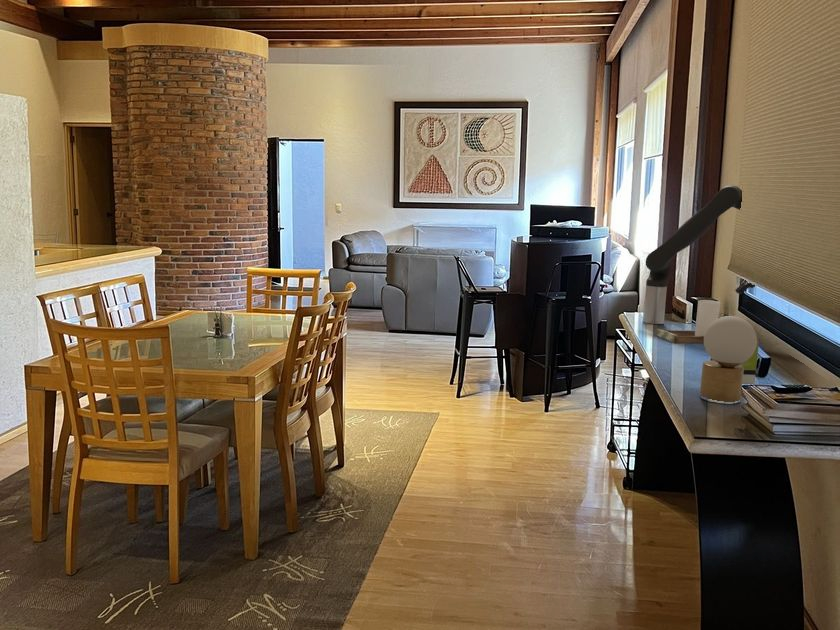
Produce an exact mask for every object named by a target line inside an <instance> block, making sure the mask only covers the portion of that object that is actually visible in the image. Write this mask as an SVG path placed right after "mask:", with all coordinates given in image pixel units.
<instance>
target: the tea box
mask: <svg viewBox="0 0 840 630" xmlns="http://www.w3.org/2000/svg"><path fill="white" fill-rule="evenodd" d="M759 343H760V342H759V340H757V346H756V349H755V352H754V353H753V355H752V356H751V357H750V358H749V359H748V360H747V361H745V362H743V363H742V364H740V365H742V366H744V373H743V382H742V384H754V385H755V382H756V374H757V373H756V372H757V361H758V355H759V354H758V353H759ZM709 357H710V356H709ZM711 360H713V359H712V358H711V357H710V358H709V361H711Z"/></svg>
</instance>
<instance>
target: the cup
mask: <svg viewBox="0 0 840 630" xmlns="http://www.w3.org/2000/svg"><path fill="white" fill-rule="evenodd" d="M719 310H720V301H716V300H712V299H699V300H698V301H697V310H696V311H697V312H696V319H695V320H696V321H695V329H694V330H695V336H704V335H705V332H706V330H707V328H708V326H709V325H710V324H711V323H712V322H713V321H715V320H716V319H718V318H719Z"/></svg>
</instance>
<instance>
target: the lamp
mask: <svg viewBox="0 0 840 630" xmlns="http://www.w3.org/2000/svg"><path fill="white" fill-rule="evenodd" d="M757 341H758V337H757V333H756V330H755V329H754V327H753V325H751V324H750V323H749V322H748V320H745V319H744V318H742V317H739V316H735V315H725V316H721V317H718V319H716V320H715V321H713V322H712V323H711V324H710V325H709V326H708V328H707V330H706V332H705V335H704V343H703V345H704V349H705V351H706V353H707V355H708V356H709V357H711V358H712V359H713V360H711V361H710V360H704V361H702V367H701V368H702V369H701V377H700V387H699V396H700V395H701V396H703V397H706V398H708V399H712V400H717V401H724V402H735V401H739V400H740V399H741V398H742V391H741V390H740V389H741V387H742V388H743V386H742V382H743V373H744V366H742V365H740V364H742V363H743V362H745V361H747V360H748V359H749V358H750V357H751V356H752V355H753V353H754V352H755V349H756V346H757ZM741 400H742V399H741Z"/></svg>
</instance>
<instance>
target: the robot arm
mask: <svg viewBox="0 0 840 630" xmlns="http://www.w3.org/2000/svg"><path fill="white" fill-rule="evenodd" d="M742 191H743V190H742V189H741V188H740V187H738V186H736V185H725V186H724V187H722V188H721V189H720V190H719V191H718V192H717V193H716V194H715V195H714V196H713V198H712V199H711V200H710V201H709V202H707V204H706V205H705V206H704V207H702V208H701V209H699V211H697V212H696V213H694V215H692V216H690V218H688V219H687V220H686V221H685V222H684V223H683V224H682V225H681V226H679V227H678V228H677V230H676V231H675V232H674V233H672V235H671V236H670V237H668V239H666V241H664V242H663V243H662V244H661V245H659V246H658V247H657V248H655V249H654V250H653V251H651V252H650V253H649V254H648V255H647V257H646V258H645V267H646V268H647V269H648V270H649V275H648V277H647V279H646V280H645V281H646V283H645V284H646V285H645V294H644V295H645V296H644V303H643V313H642V314H643V316H642V322H643V323H645V324H651V325H663V324H664V323H665V311H666V300H667V291H668V289H667V288H668V282H669V280H670V273H671V266H672V260H671V259H672V258H673V257H675V255H677V254H678V253H679V252H681V251H682V250H684V249H686V248H688V247H689V246H691V245H693V244H694V243H695V242H696V241H698V240H699V239H700V238H701V237H703V236H704V235H705V234H706V232H707V231H709V229H710V227H711V226H712V225H713V223H714V222H715V221H716V220H717V219H718V218H719V217H720V216H722V214H725V212H726V211H729V210H730V209H731V208H734V209H737V210H739V211H741V210H740V208H741V202H742ZM739 283H740V285H739V286H738V287H737V288H735V290H734V291H735V293H736V294H739V295H742V294H743V293H744V292H745V291H746V290H747V289H748V290H749V289H753V288H755V287H756V286H755V285H752V284H751V283H748V282H747V281H746V280H744V279H742V278H741V277H740V280H739Z"/></svg>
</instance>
